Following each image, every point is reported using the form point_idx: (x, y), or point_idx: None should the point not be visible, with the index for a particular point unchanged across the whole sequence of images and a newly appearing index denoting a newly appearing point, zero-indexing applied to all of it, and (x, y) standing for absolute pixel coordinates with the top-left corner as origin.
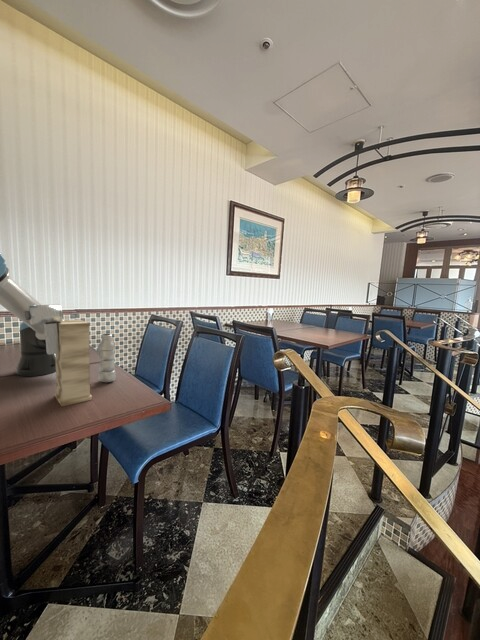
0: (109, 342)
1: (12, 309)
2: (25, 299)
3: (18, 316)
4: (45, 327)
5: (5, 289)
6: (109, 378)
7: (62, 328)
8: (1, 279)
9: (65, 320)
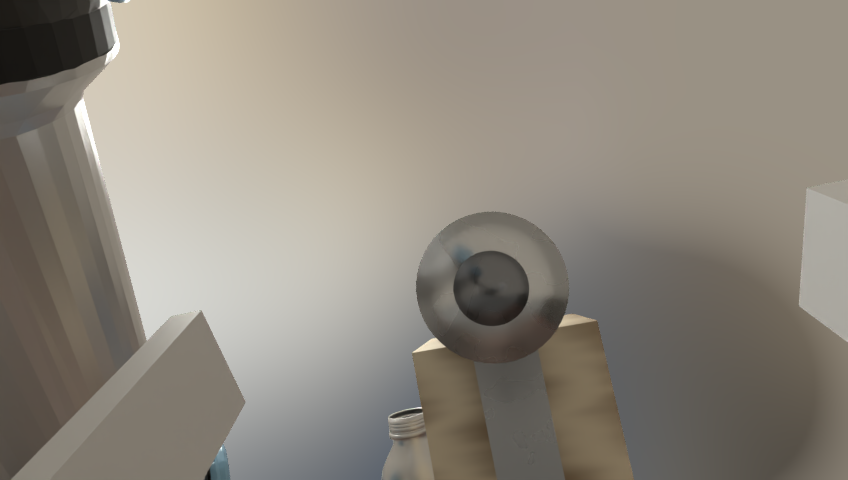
0: None
1: (38, 362)
2: (126, 268)
3: (37, 431)
4: (523, 371)
5: (79, 150)
6: None
7: (601, 345)
8: (111, 34)
9: (424, 346)
